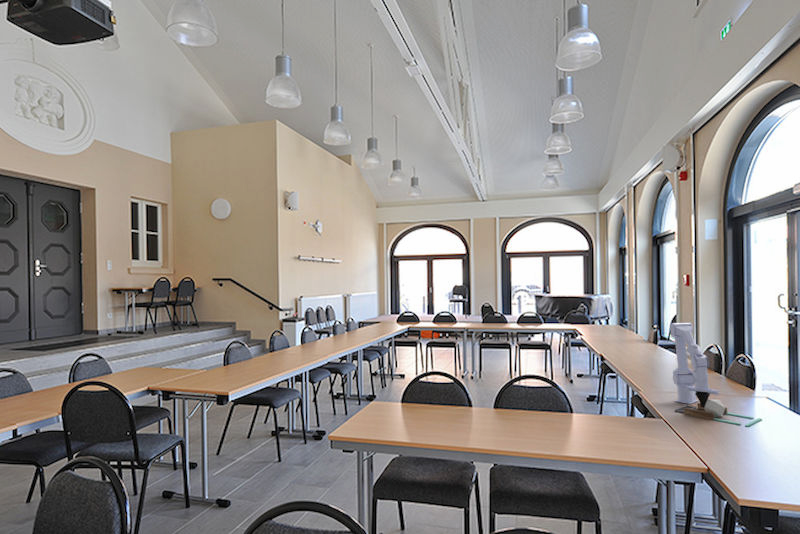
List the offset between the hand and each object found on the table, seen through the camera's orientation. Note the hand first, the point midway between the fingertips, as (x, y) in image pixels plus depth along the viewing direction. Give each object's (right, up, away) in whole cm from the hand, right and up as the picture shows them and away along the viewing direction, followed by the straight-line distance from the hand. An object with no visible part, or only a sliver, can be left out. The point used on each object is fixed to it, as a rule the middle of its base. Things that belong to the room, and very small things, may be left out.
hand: (703, 406), depth 228 cm
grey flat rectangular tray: (-4, -4, +7) cm, 9 cm away
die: (+3, -3, -4) cm, 6 cm away
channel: (+1, -3, -1) cm, 3 cm away
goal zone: (+8, -2, -12) cm, 15 cm away
